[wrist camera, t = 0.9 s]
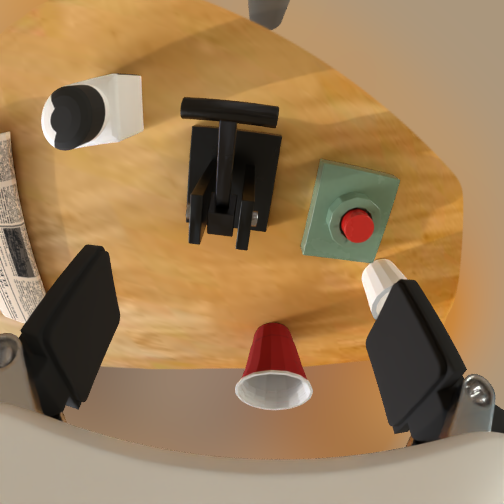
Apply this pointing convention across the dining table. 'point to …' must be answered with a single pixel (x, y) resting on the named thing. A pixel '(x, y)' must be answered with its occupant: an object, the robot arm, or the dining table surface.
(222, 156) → the lever
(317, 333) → the dining table surface
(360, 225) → the button
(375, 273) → the white cup
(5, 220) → the newspaper
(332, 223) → the button box
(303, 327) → the dining table surface
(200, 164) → the bracket
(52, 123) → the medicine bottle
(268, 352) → the plastic cup
